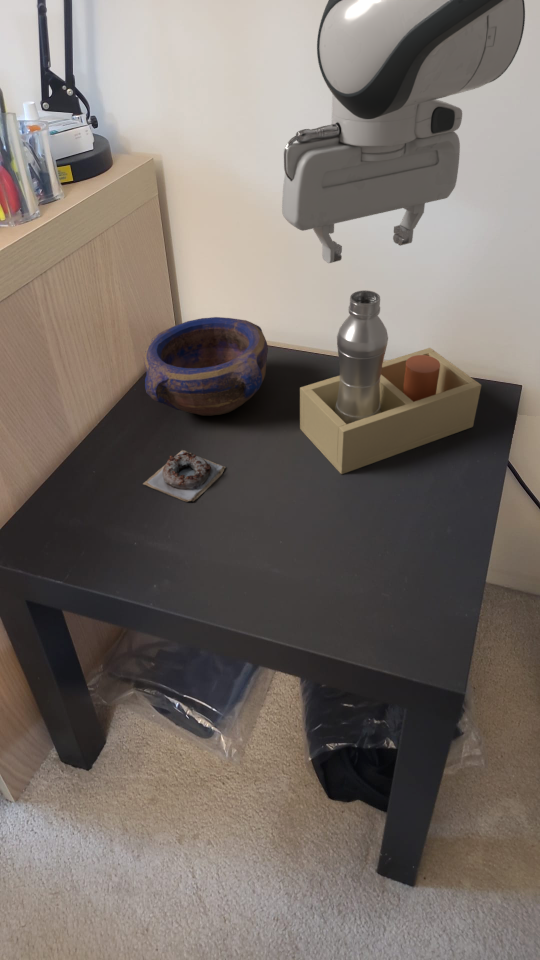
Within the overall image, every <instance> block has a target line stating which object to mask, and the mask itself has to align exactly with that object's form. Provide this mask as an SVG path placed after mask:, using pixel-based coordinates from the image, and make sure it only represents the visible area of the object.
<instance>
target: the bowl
mask: <svg viewBox="0 0 540 960" xmlns="http://www.w3.org/2000/svg"><path fill="white" fill-rule="evenodd" d="M150 341H151V342H150V343H149V344H148V346H147V347H146V350H145V352H144V356H143V363H144V369H145V372H146V375H145V378H144V388H145V393H146V394H147V395H148V396H149V397H150V399H152V400H153V401H155V402H157V403H160V404H162V405H165V406H167V407H170V408H172V409H175V410H176V411H182V412H186V413H188V414H189V413H190V414H194V415H198V416H211V417H212V416H221V415H225V414H229V413H231V412H232V411H235V410H236V409H238V408H239V407H241V406H242V405H244V404H245V403H246V402H247V401H249V400H250V399H251V398H252V397H253V396H254V395H255V394H256V393H257V391H259V390H260V388H261V386H262V384H263V381H264V379H265V377H266V371H267V360H268V353H269V347H268V346H269V345H268V343H267V339H266V337H265V335H264V332H263V330H262V328H261V326H259V325H257V324H255V323H253V322H251V321H248V320H246V319H239V318H234V317H233V318H232V317H221V316H213V317H211V316H210V317H202V318H197V319H191V320H187V321H184V322H182V323H179V324H176V325H173V326H171V327H170V328H167V329H165V330H163V331H161V332H159V333H158V334H157V335H155V336H153V338H152V339H151V340H150Z"/></svg>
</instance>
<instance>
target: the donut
mask: <svg viewBox="0 0 540 960" xmlns="http://www.w3.org/2000/svg"><path fill="white" fill-rule="evenodd" d="M225 469H226V466H224V465H222V464H219V463H217V462H213V461H211V460H209V459H206V458H203V457H202V456H199V455H197V454H194V453H193V452H188V451H187V450H183V449H181V450H180V451H179V452H178V453H177V454H176V455H169V458H168V459H167V462H166V463H165V464H164V465H163V466H162V467H160V468H159V469H158V470H157V471H155V472H154V473H153V474H152V475H151V476H150V477H148V479H147V480H145V481H144V482H143V483H142V485H144V486H147V487H149V488H151V489H154V490H156V491H158V492H161V493H163V494H166V495H167V496H171V497H173V498H175V499H178V500H180V501H183V502H185V503H186V502H188V503H189V502H195V501H196V500H197V499H198V498H199V497H201V495H202V494H203V493H205V492H206V491H207V490H208V489H209V488H210V487H211V486H212V485H213V484H214V483H215V482H216V481H217V480H219V478H220V477H221V476H222V475H223V472H224V471H225Z"/></svg>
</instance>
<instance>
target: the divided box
mask: <svg viewBox="0 0 540 960" xmlns="http://www.w3.org/2000/svg"><path fill="white" fill-rule="evenodd" d="M416 355H427V356H431V357H434V358H435V359H437V360H438V361H439V362H440V371H439V378H438V384H437V391H436V395H433V396H430V397H427V398H424V399H421V400H418V401H415V402H413V401H412V400H411V399H410V398H408V397H407V396H406V395H405V394H404V393H403V383H404V374H405V366H406V361H407V359H408V358H410V357H412V356H416ZM339 383H340V374H339V375H337V376H333V377H330V378H327V379H324V380H320V381H317V382H314V383H310V384H308V385H304V386H301V387H299V430H300V431H301V432H302V433H303V434H304V435H305V436H306V437H307V438H308V440H310V442H311V443H312V444H313V445H314V446H315V447H316V449H318V451H320V453H321V454H322V455H323V456H324V457H325V458H326V459H327V460H328V462H329V463H330V464H331V465H332V466H333V467H334V468H335V470H337V472H338V473H339V474H340V475H343V474H347V473H349V472H352V471H355V470H358V469H361V468H363V467H367V466H369V465H371V464H374V463H377V462H380V461H382V460H385V459H388V458H391V457H394V456H397V455H399V454H402V453H404V452H407V451H410V450H412V449H415V448H419V447H421V446H424V445H426V444H429V443H433V442H435V441H438V440H441V439H443V438H447V437H448V436H451V435H454V434H457V433H459V432H462V431H465V430H468V429H470V428H473V427H474V423H475V420H476V419H475V418H476V414H477V410H478V405H479V399H480V394H481V391H482V390H481V389H482V384H481V383H479V382H478V381H476V379H474V378H473V377H471V376H470V375H469V374H467V373H466V372H464V371H463V370H461V369H460V368H459V367H457V366H456V365H455V364H453V363H452V362H451V361H449V360H448V359H447V358H446V357H444V356H443V355H441V354H440V353H439V352H437V351H435V350H434V349H433V348H431V347H427V348H424V349H421V350H418V351H414V352H411V353H408V354H405V355H402V356H398V357H395V358H392V359H388V360H385V361H383V364H382V370H381V376H380V406H381V413H379V414H376V415H373V416H370V417H367V418H364V419H361V420H358V421H355V422H352V423H349V424H346V423H345V422H344V421H343V420H342V419H341V418H340V417H339V416H338V415H337V414H336V413H335V412H334V410H335V406H336V402H337V398H338V391H339Z"/></svg>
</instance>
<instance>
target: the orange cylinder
mask: <svg viewBox="0 0 540 960" xmlns="http://www.w3.org/2000/svg"><path fill="white" fill-rule="evenodd" d="M439 371H440V362H439V361H438V360H437V359H435V358H434V357H431V356H427V355H416V356H412V357H410V358H408V359H407V361H406V366H405V374H404V383H403V393H404V394H405V395H406V396H407V397H408V398H410V399H411V400H412V401H413V402H415V401H418V400H421V399H424V398H427V397H430V396H433V395H436V391H437V384H438V378H439Z"/></svg>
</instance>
